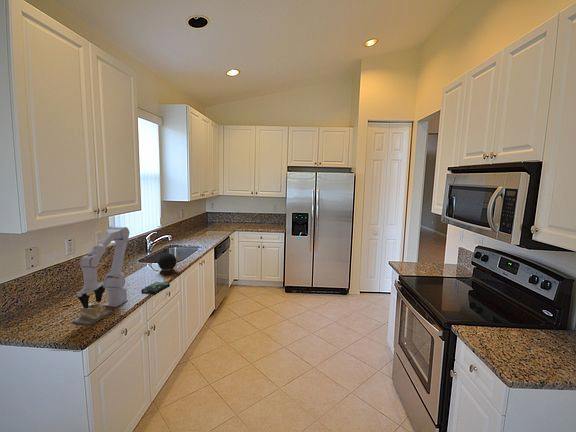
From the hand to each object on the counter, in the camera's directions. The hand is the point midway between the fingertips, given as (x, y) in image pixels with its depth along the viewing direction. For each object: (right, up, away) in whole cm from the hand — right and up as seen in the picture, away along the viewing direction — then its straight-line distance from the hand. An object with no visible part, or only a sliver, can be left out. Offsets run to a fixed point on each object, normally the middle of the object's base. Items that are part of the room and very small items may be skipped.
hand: (92, 304), depth 149 cm
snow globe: (+8, +2, +74) cm, 75 cm away
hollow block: (0, -6, +1) cm, 6 cm away
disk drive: (+14, -3, +40) cm, 43 cm away
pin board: (0, -7, +1) cm, 7 cm away
